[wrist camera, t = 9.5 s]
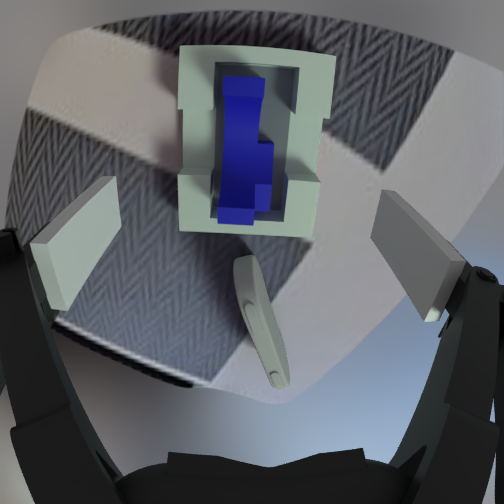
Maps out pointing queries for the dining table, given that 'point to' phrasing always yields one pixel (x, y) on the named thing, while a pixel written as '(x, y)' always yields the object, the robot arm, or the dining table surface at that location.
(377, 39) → the dining table surface
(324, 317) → the dining table surface
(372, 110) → the dining table surface
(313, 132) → the holder
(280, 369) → the slide sandal
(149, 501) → the robot arm
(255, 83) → the cable clip
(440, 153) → the dining table surface
